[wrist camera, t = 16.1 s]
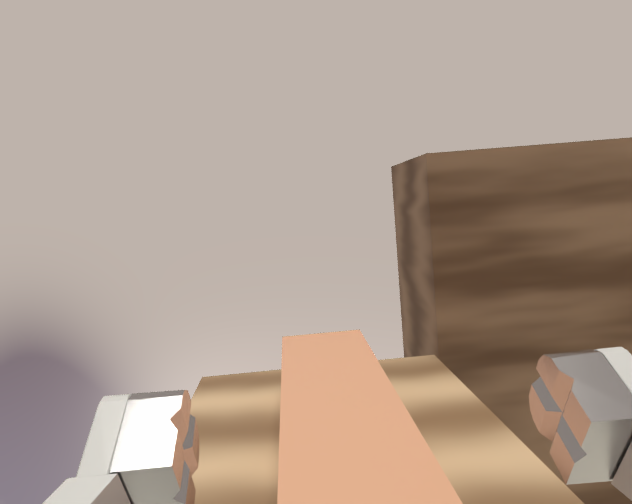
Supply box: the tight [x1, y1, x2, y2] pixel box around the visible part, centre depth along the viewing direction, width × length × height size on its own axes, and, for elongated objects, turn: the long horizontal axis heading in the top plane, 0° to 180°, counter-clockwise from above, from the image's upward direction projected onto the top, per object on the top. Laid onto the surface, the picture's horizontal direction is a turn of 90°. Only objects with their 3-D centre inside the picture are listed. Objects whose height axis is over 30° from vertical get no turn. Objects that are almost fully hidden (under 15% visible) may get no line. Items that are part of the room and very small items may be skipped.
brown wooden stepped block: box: [190, 138, 632, 504], centre depth 28 cm, size 27×28×26 cm
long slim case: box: [277, 330, 463, 504], centre depth 18 cm, size 20×4×3 cm, turn 3°
